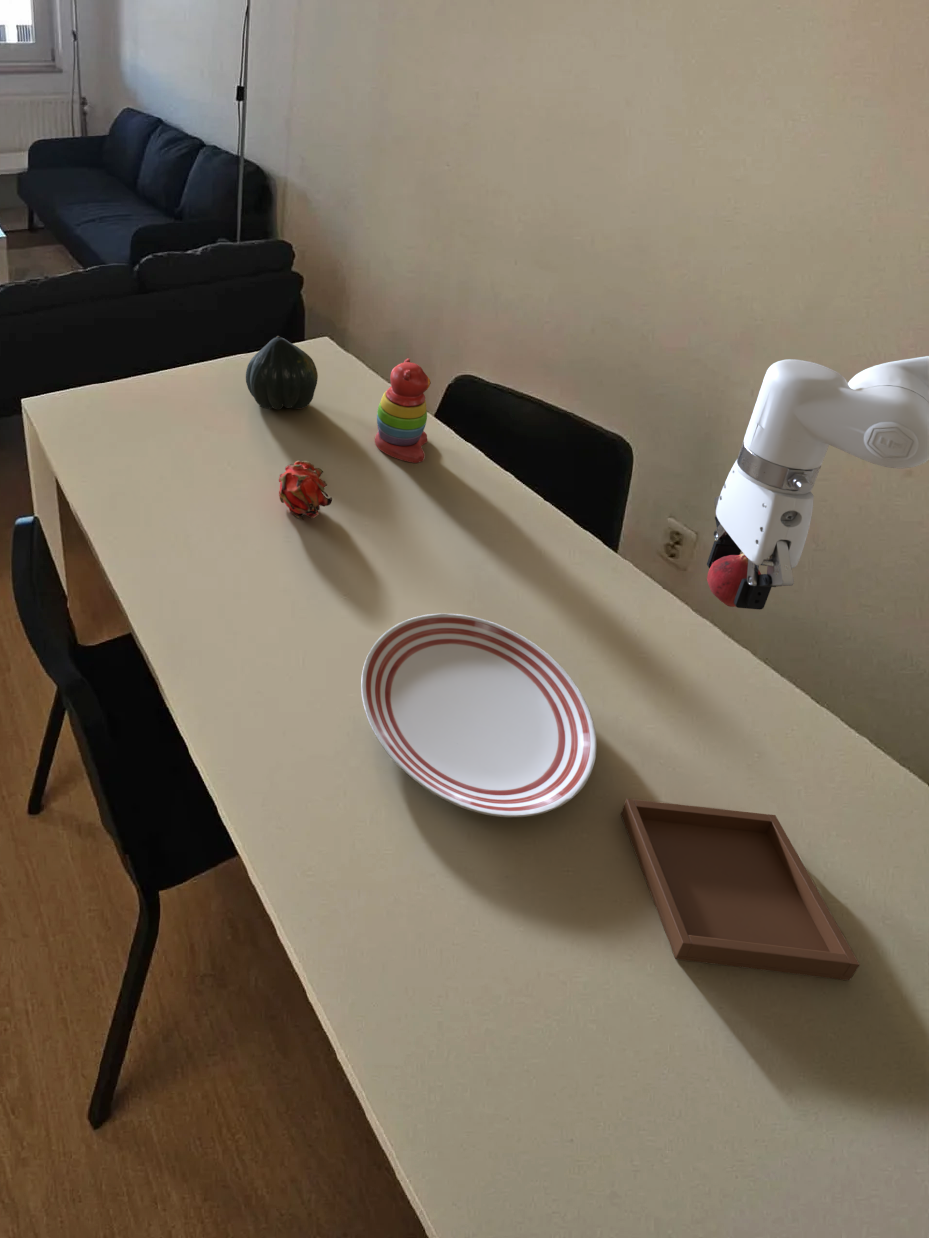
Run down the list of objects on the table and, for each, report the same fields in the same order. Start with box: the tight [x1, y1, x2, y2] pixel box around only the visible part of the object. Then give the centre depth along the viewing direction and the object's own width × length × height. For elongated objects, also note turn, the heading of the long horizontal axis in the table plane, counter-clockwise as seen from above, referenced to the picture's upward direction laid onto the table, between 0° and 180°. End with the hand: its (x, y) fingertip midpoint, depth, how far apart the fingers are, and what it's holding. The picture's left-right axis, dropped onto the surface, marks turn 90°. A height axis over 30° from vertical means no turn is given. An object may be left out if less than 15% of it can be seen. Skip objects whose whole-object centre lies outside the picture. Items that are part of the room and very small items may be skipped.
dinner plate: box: [360, 613, 598, 818], centre depth 93 cm, size 28×27×3 cm
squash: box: [245, 335, 319, 410], centre depth 160 cm, size 14×15×15 cm
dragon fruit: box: [278, 459, 333, 521], centre depth 128 cm, size 8×8×12 cm
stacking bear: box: [374, 358, 432, 464], centre depth 145 cm, size 11×10×18 cm
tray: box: [620, 798, 861, 981], centre depth 76 cm, size 16×14×3 cm
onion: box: [706, 553, 762, 608], centre depth 94 cm, size 6×6×8 cm
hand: (733, 585), depth 94 cm, fingers closed on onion, 5 cm apart
